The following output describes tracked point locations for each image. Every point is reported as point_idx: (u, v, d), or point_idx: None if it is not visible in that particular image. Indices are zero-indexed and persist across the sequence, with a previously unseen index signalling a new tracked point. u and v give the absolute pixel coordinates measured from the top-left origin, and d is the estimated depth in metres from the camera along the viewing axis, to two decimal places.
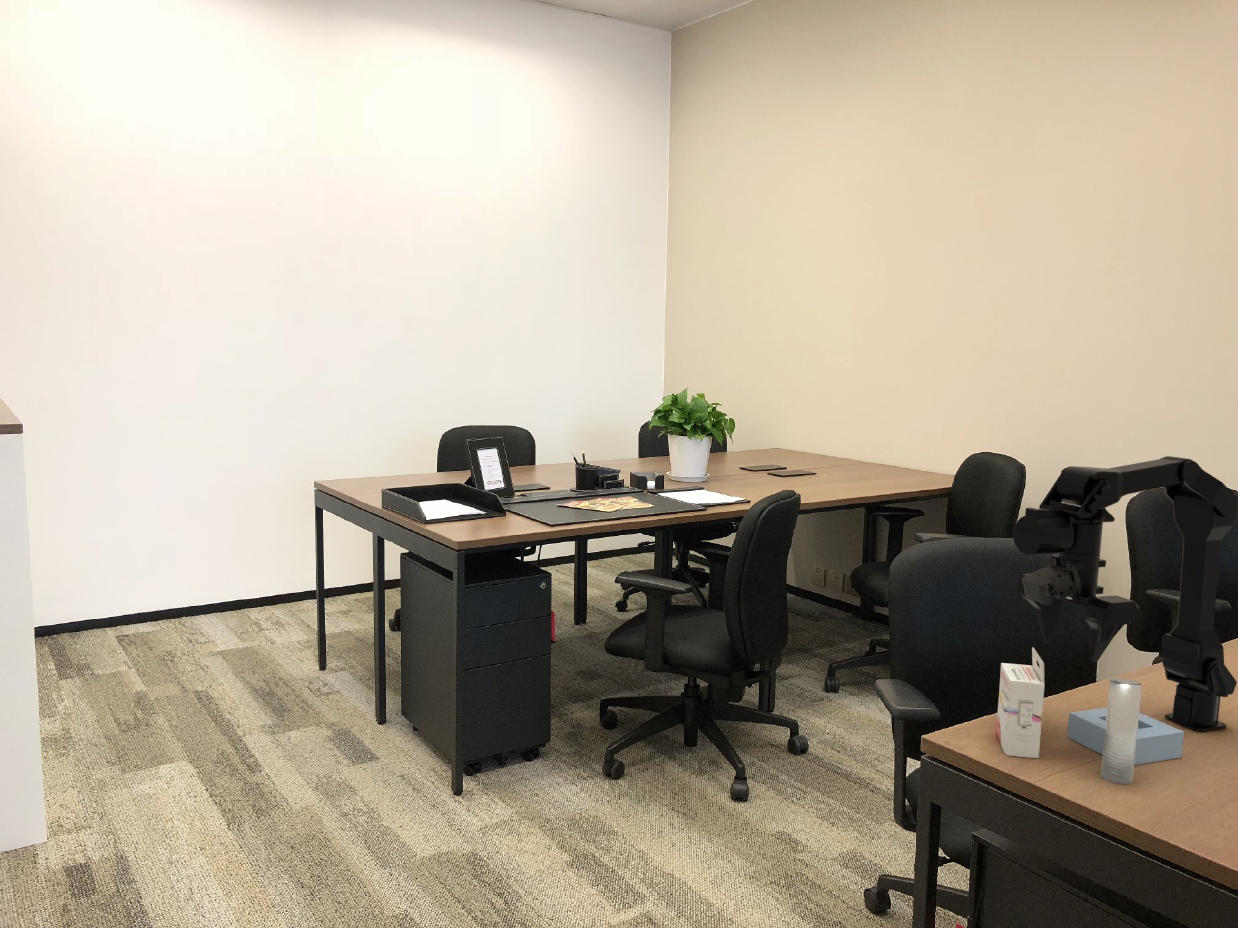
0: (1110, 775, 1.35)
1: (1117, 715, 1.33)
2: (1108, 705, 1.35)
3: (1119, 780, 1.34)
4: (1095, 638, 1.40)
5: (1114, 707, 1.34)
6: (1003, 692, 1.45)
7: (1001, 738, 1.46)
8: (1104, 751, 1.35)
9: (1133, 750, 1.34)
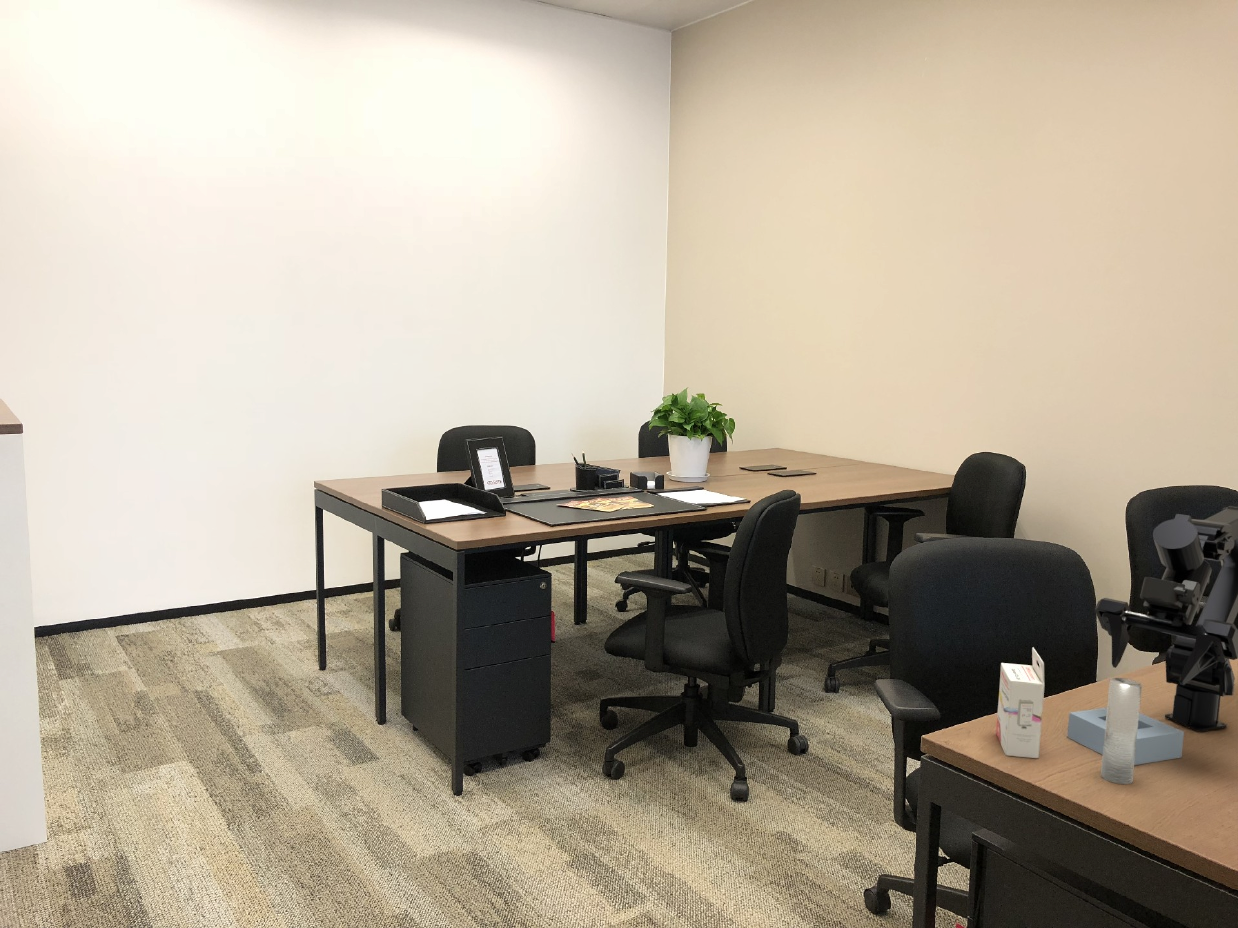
0: (1110, 775, 1.35)
1: (1117, 715, 1.33)
2: (1108, 705, 1.35)
3: (1119, 780, 1.34)
4: (1197, 657, 1.36)
5: (1113, 707, 1.34)
6: (1003, 692, 1.45)
7: (1001, 738, 1.46)
8: (1104, 751, 1.35)
9: (1133, 750, 1.34)
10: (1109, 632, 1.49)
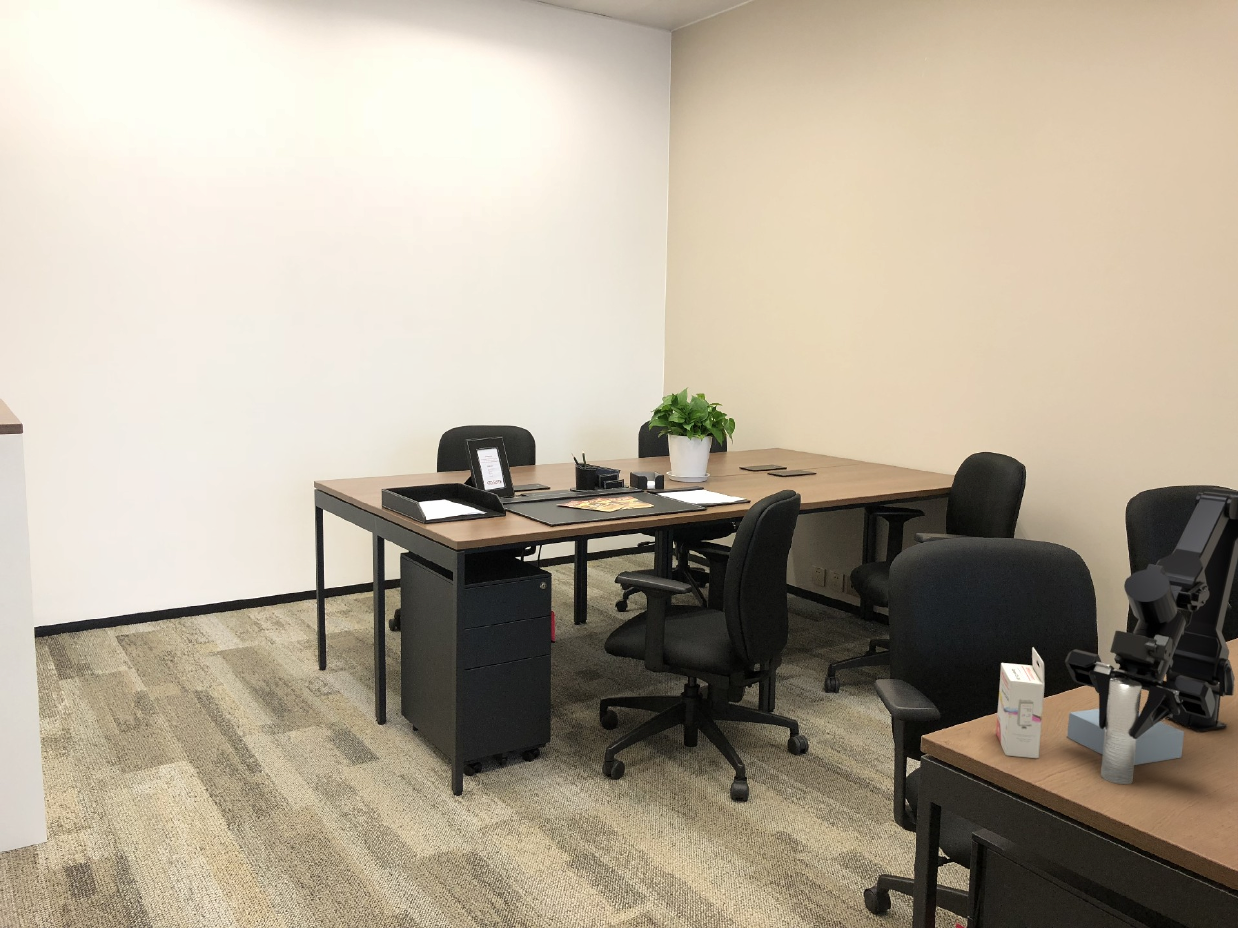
0: (1110, 775, 1.35)
1: (1117, 715, 1.33)
2: (1108, 705, 1.35)
3: (1119, 780, 1.34)
4: (1149, 711, 1.32)
5: (1113, 707, 1.34)
6: (1003, 692, 1.45)
7: (1001, 738, 1.46)
8: (1104, 751, 1.35)
9: (1133, 750, 1.34)
10: (1097, 689, 1.41)
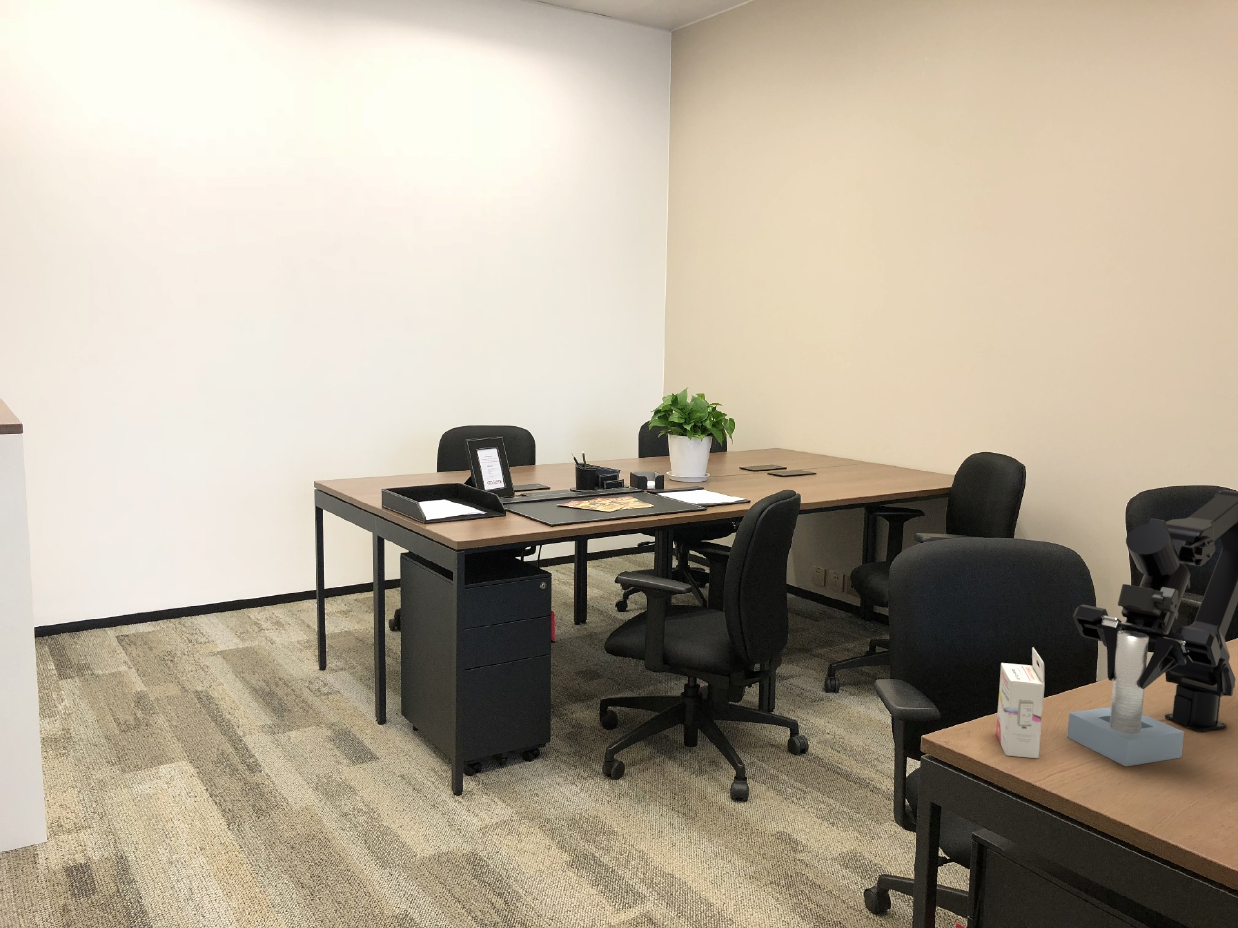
0: (1119, 725, 1.38)
1: (1125, 666, 1.36)
2: (1116, 657, 1.38)
3: (1128, 729, 1.37)
4: (1157, 661, 1.36)
5: (1121, 659, 1.37)
6: (1003, 692, 1.45)
7: (1001, 738, 1.46)
8: (1113, 702, 1.39)
9: (1141, 700, 1.37)
10: (1104, 643, 1.45)
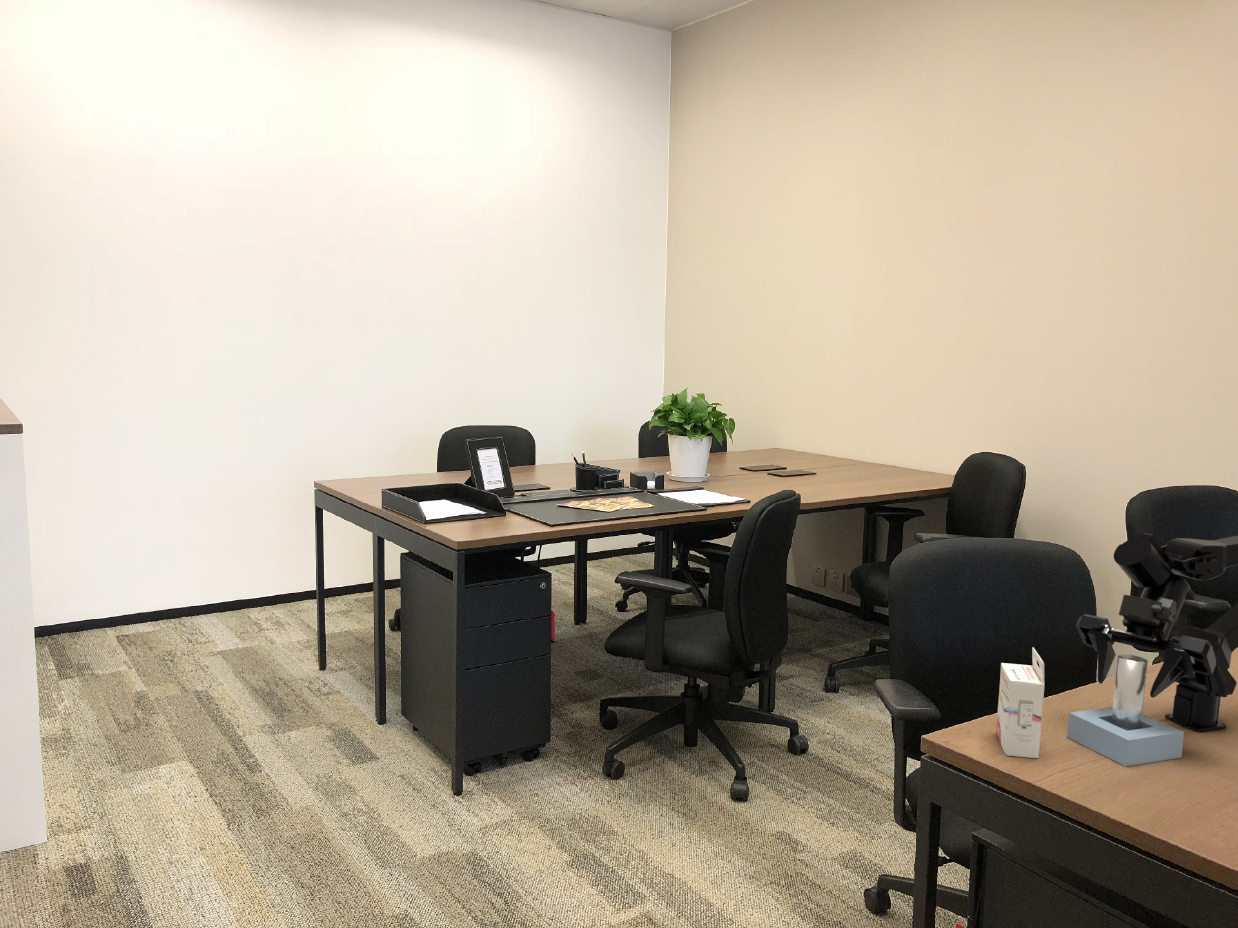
0: None
1: (1124, 689, 1.44)
2: (1116, 679, 1.46)
3: None
4: (1166, 671, 1.42)
5: (1121, 681, 1.45)
6: (1003, 692, 1.45)
7: (1001, 738, 1.46)
8: (1112, 722, 1.46)
9: (1139, 721, 1.44)
10: (1096, 648, 1.53)
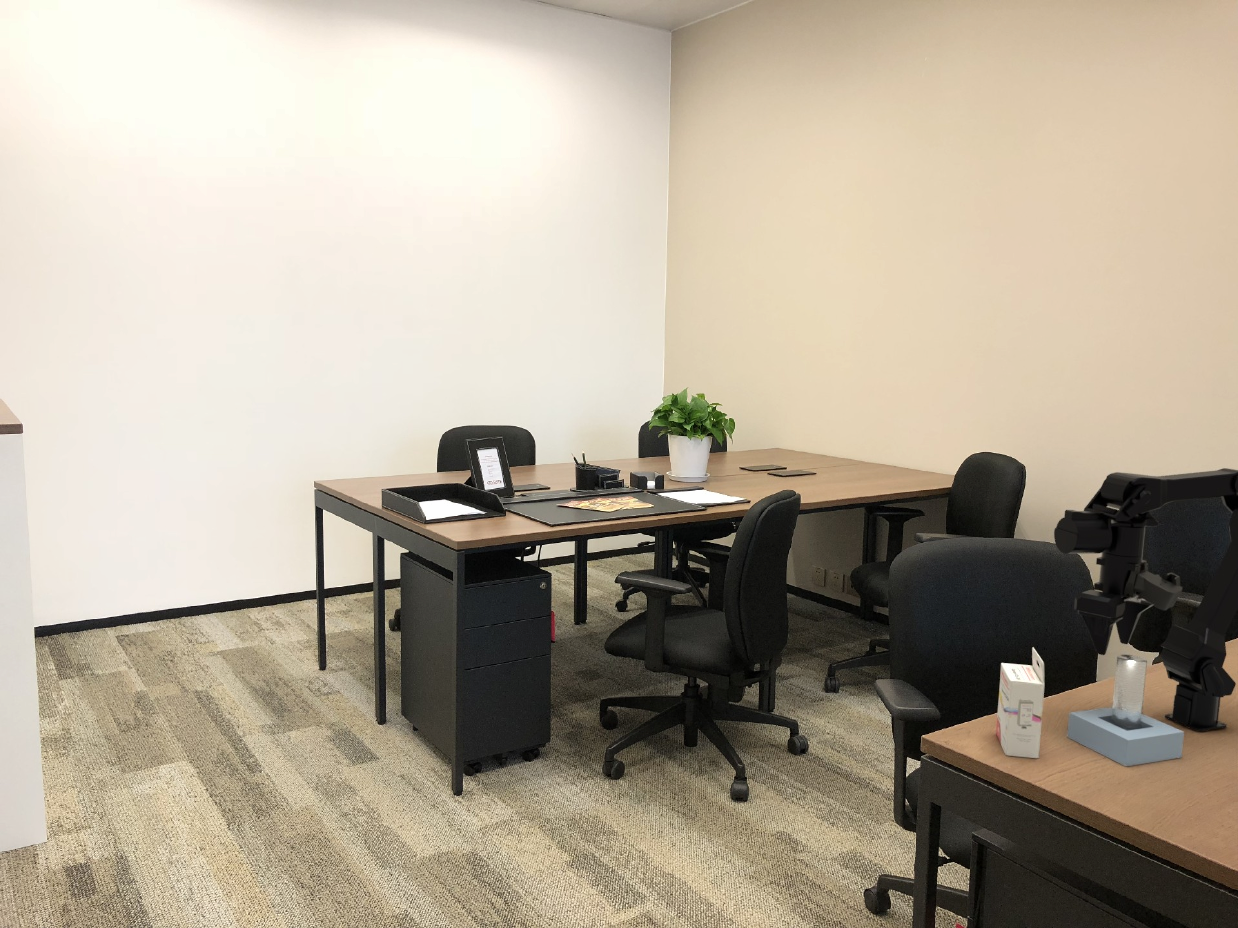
0: None
1: (1124, 689, 1.44)
2: (1116, 679, 1.46)
3: None
4: (1137, 621, 1.55)
5: (1121, 681, 1.45)
6: (1003, 692, 1.45)
7: (1001, 738, 1.46)
8: (1112, 722, 1.46)
9: (1139, 721, 1.45)
10: (1085, 615, 1.48)
